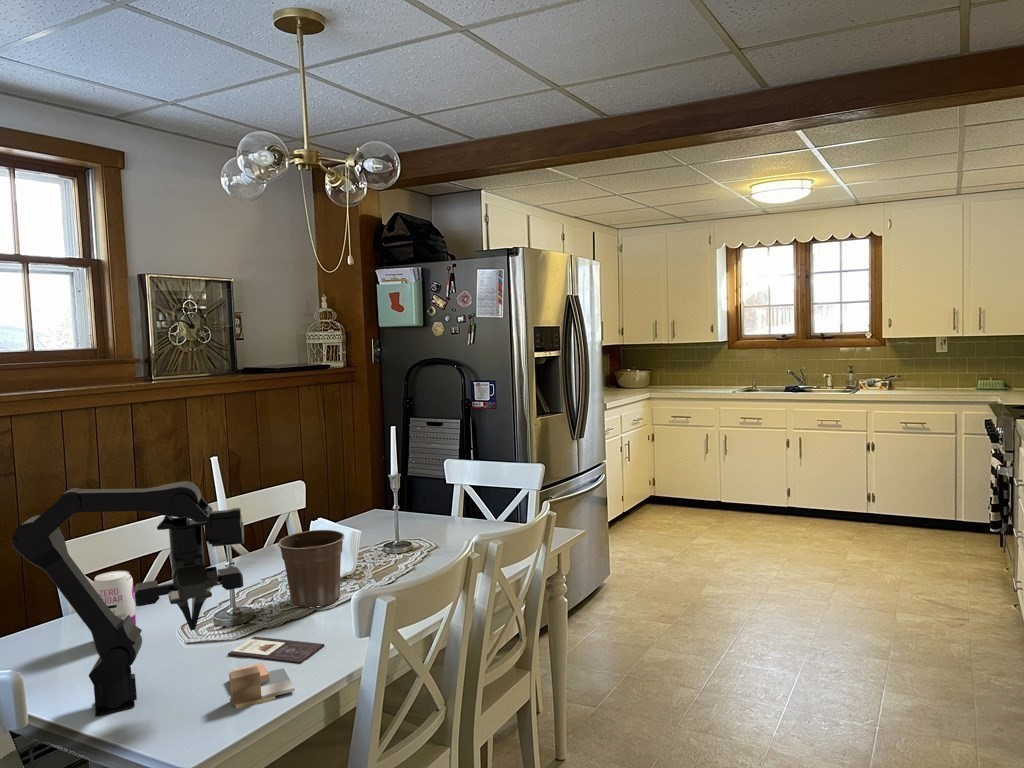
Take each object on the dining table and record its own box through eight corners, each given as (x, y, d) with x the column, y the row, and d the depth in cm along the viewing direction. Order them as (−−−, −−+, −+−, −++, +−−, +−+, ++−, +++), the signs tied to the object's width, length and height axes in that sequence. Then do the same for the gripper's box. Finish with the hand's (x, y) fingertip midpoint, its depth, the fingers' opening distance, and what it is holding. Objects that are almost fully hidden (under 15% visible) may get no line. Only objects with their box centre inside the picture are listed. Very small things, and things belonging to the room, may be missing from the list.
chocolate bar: (300, 662, 159) (227, 653, 164) (301, 666, 159) (228, 657, 165) (324, 644, 167) (254, 636, 173) (324, 648, 167) (254, 640, 173)
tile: (237, 681, 147) (269, 673, 150) (231, 670, 153) (262, 662, 156) (237, 690, 148) (269, 681, 150) (231, 678, 153) (262, 670, 156)
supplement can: (129, 629, 181) (124, 567, 180) (142, 639, 175) (137, 574, 174) (91, 640, 175) (86, 576, 174) (103, 650, 169) (98, 584, 168)
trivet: (242, 695, 146) (242, 693, 146) (237, 680, 152) (237, 679, 152) (291, 683, 150) (291, 681, 150) (283, 669, 156) (283, 668, 156)
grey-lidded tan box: (233, 706, 141) (231, 679, 140) (230, 697, 144) (228, 671, 144) (294, 690, 146) (293, 665, 145) (290, 682, 149) (288, 657, 149)
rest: (236, 709, 141) (235, 706, 141) (231, 698, 145) (231, 695, 145) (275, 699, 144) (275, 696, 144) (270, 688, 148) (269, 685, 148)
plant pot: (299, 617, 185) (295, 551, 184) (271, 601, 197) (267, 539, 196) (359, 599, 196) (356, 537, 194) (328, 585, 208) (325, 526, 206)
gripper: (133, 569, 134) (140, 656, 135) (245, 551, 143) (250, 632, 144) (131, 553, 144) (137, 635, 145) (236, 537, 153) (241, 614, 154)
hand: (192, 629), depth 147 cm, fingers closed
